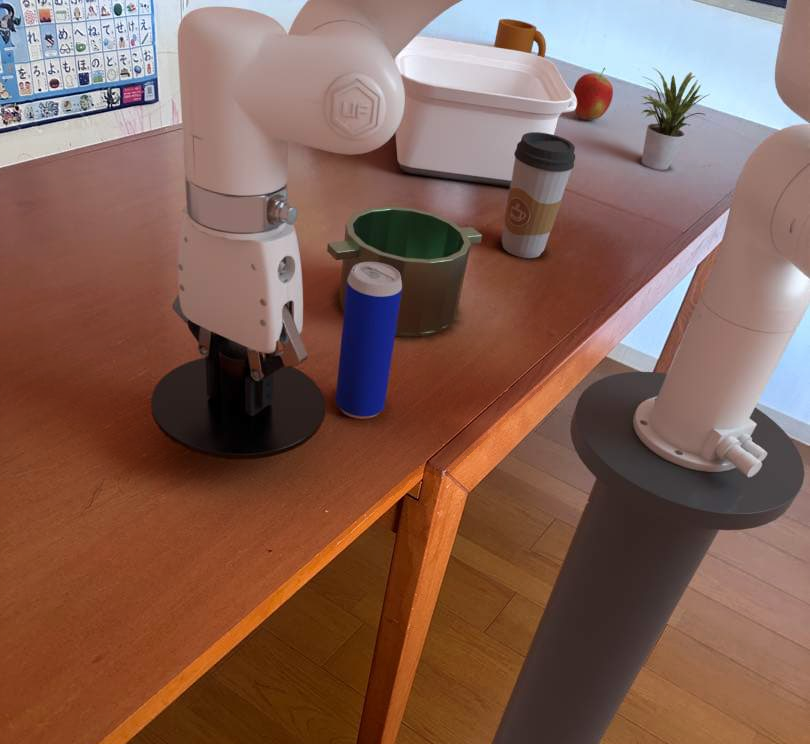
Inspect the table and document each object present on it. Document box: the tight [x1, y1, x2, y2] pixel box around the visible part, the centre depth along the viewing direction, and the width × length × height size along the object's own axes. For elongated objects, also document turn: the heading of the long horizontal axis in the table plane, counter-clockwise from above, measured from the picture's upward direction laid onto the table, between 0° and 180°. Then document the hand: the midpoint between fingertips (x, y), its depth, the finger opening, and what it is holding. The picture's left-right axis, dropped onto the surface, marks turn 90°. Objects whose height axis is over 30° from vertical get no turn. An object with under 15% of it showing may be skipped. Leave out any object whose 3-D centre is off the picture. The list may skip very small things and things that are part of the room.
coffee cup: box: [501, 132, 576, 259], centre depth 115 cm, size 8×8×15 cm
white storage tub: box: [394, 35, 577, 188], centre depth 139 cm, size 34×29×15 cm
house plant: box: [641, 67, 709, 171], centre depth 152 cm, size 14×14×16 cm
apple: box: [572, 67, 614, 121], centre depth 168 cm, size 8×8×10 cm
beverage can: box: [335, 262, 402, 420], centre depth 80 cm, size 5×5×15 cm
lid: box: [150, 339, 326, 460], centre depth 74 cm, size 16×16×7 cm
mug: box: [493, 18, 547, 58], centre depth 190 cm, size 9×12×9 cm
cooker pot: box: [326, 206, 483, 338], centre depth 99 cm, size 15×20×10 cm
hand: (239, 398), depth 75 cm, fingers closed on lid, 3 cm apart
